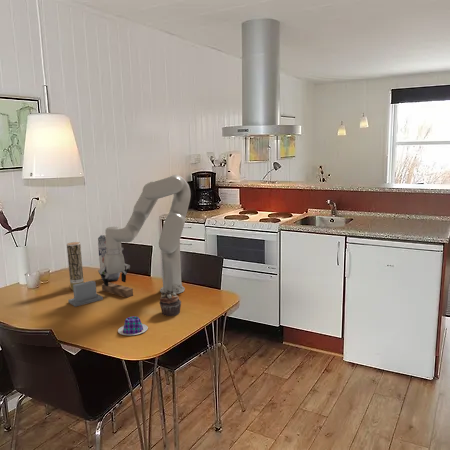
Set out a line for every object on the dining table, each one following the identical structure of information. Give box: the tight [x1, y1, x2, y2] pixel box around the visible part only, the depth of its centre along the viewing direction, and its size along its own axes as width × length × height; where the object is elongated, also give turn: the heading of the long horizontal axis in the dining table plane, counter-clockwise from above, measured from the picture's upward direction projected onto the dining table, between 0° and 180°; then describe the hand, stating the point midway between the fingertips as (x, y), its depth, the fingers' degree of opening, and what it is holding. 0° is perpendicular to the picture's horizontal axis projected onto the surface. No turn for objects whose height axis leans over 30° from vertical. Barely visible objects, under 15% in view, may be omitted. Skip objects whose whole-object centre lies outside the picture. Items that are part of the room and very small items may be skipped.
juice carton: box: [97, 233, 121, 282], centre depth 245 cm, size 9×10×27 cm
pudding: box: [117, 315, 149, 336], centre depth 176 cm, size 12×12×5 cm
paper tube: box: [66, 241, 84, 291], centre depth 230 cm, size 7×7×25 cm
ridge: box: [67, 280, 104, 308], centre depth 212 cm, size 8×14×9 cm, turn 131°
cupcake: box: [159, 290, 182, 317], centre depth 193 cm, size 10×10×10 cm
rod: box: [101, 281, 134, 298], centre depth 223 cm, size 20×4×4 cm, turn 52°
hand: (115, 283), depth 222 cm, fingers open, 9 cm apart
